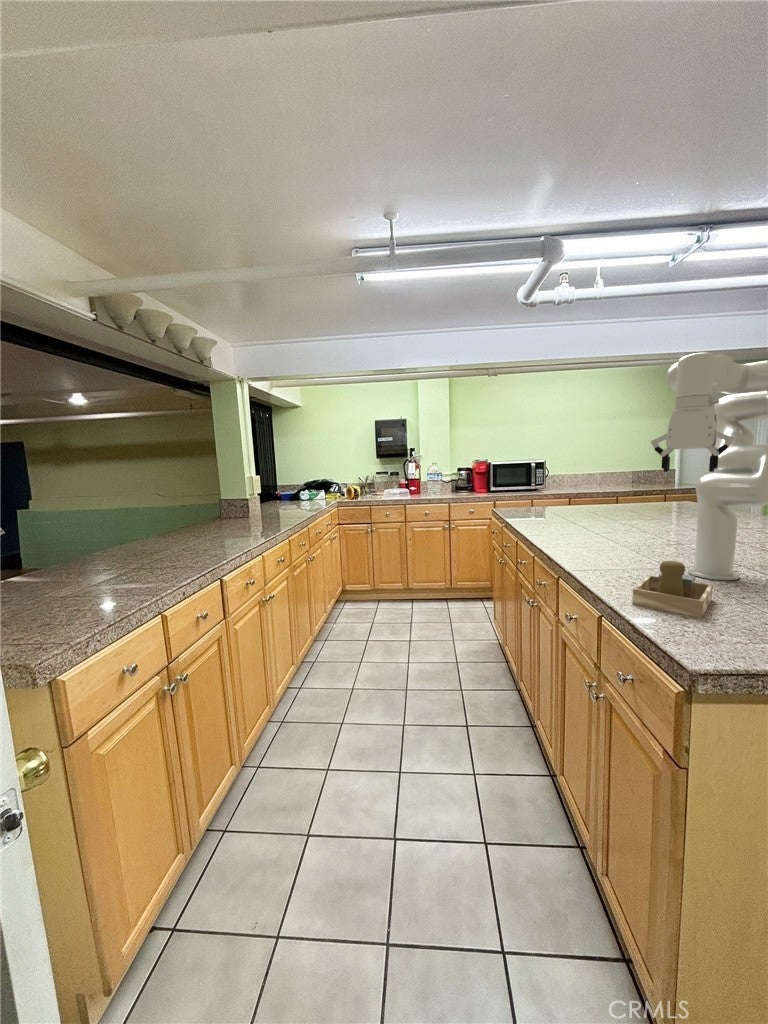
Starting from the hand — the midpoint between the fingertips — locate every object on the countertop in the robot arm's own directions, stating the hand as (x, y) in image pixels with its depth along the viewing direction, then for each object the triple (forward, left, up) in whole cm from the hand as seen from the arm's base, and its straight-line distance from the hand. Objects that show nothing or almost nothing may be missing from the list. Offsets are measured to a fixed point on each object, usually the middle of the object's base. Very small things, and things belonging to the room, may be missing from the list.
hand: (688, 471), depth 107 cm
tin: (+6, 0, -33) cm, 33 cm away
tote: (+10, 0, -33) cm, 35 cm away
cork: (+13, 0, -33) cm, 35 cm away
